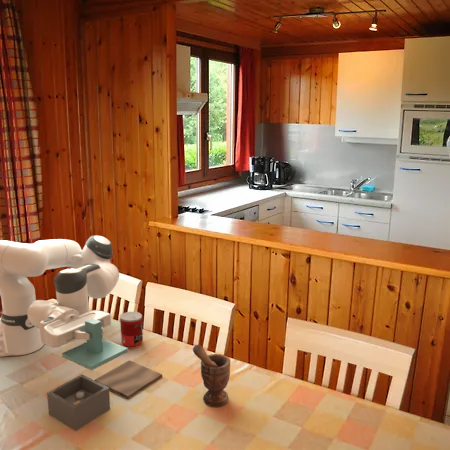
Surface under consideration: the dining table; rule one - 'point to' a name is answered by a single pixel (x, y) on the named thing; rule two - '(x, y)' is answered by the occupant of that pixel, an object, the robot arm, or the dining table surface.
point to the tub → (78, 401)
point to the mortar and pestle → (214, 376)
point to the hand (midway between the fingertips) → (95, 334)
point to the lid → (94, 348)
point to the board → (129, 379)
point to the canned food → (131, 329)
